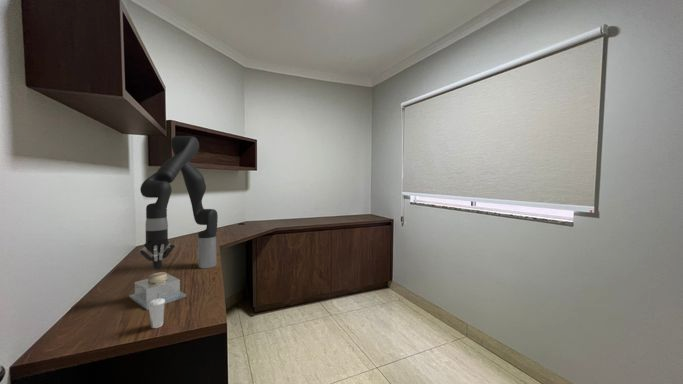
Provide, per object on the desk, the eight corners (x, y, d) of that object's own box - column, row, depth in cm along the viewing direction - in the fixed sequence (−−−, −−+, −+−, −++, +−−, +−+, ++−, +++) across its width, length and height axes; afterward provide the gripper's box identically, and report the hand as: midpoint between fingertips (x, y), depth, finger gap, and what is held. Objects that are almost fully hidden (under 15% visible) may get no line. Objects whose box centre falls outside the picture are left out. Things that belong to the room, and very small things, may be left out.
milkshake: (166, 319, 90) (166, 292, 90) (164, 327, 85) (164, 298, 85) (150, 323, 88) (150, 294, 88) (147, 331, 83) (147, 301, 83)
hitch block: (129, 297, 107) (129, 281, 106) (167, 286, 118) (166, 271, 118) (146, 310, 97) (146, 291, 96) (185, 296, 108) (185, 280, 108)
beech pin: (146, 294, 107) (145, 275, 106) (163, 289, 112) (163, 271, 112) (152, 298, 103) (152, 278, 103) (170, 292, 108) (169, 274, 108)
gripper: (170, 225, 114) (170, 263, 115) (134, 229, 103) (134, 271, 104) (178, 227, 110) (178, 266, 110) (141, 231, 99) (141, 275, 99)
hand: (157, 269), depth 107 cm, fingers closed
